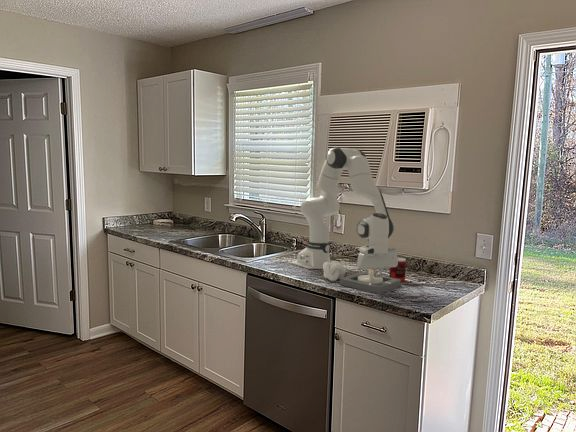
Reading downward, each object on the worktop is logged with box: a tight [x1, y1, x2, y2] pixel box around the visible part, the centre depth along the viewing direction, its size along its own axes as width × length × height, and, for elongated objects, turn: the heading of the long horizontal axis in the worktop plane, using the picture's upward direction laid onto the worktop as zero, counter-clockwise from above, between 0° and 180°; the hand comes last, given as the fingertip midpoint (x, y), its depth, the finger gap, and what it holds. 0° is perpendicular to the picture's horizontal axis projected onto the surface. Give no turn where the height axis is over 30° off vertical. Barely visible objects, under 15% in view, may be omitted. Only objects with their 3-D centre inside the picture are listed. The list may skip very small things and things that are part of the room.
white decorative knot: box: [322, 260, 347, 282], centre depth 224 cm, size 11×12×9 cm
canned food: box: [388, 256, 407, 283], centre depth 226 cm, size 8×8×11 cm
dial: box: [358, 269, 383, 285], centre depth 215 cm, size 12×12×6 cm
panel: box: [338, 271, 402, 295], centre depth 216 cm, size 22×20×3 cm
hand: (377, 277), depth 211 cm, fingers closed
